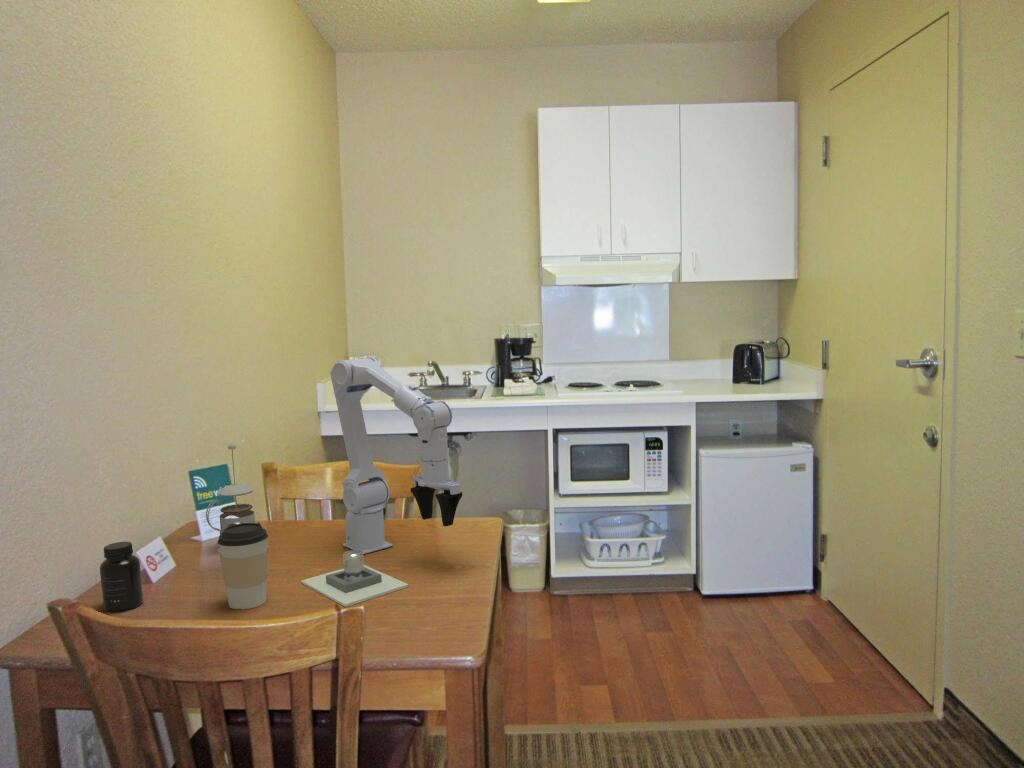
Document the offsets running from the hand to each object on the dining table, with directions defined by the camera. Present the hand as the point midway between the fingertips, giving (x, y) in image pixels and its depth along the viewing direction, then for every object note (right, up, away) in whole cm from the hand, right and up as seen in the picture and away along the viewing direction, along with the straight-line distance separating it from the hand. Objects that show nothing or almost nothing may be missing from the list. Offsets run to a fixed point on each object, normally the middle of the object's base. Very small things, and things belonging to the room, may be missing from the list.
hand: (437, 521), depth 159 cm
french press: (-50, -10, +17) cm, 53 cm away
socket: (-16, -11, -9) cm, 21 cm away
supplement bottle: (-58, -13, -16) cm, 62 cm away
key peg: (-16, -10, -9) cm, 21 cm away
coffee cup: (-35, -13, -17) cm, 40 cm away
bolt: (-21, -7, +33) cm, 40 cm away
